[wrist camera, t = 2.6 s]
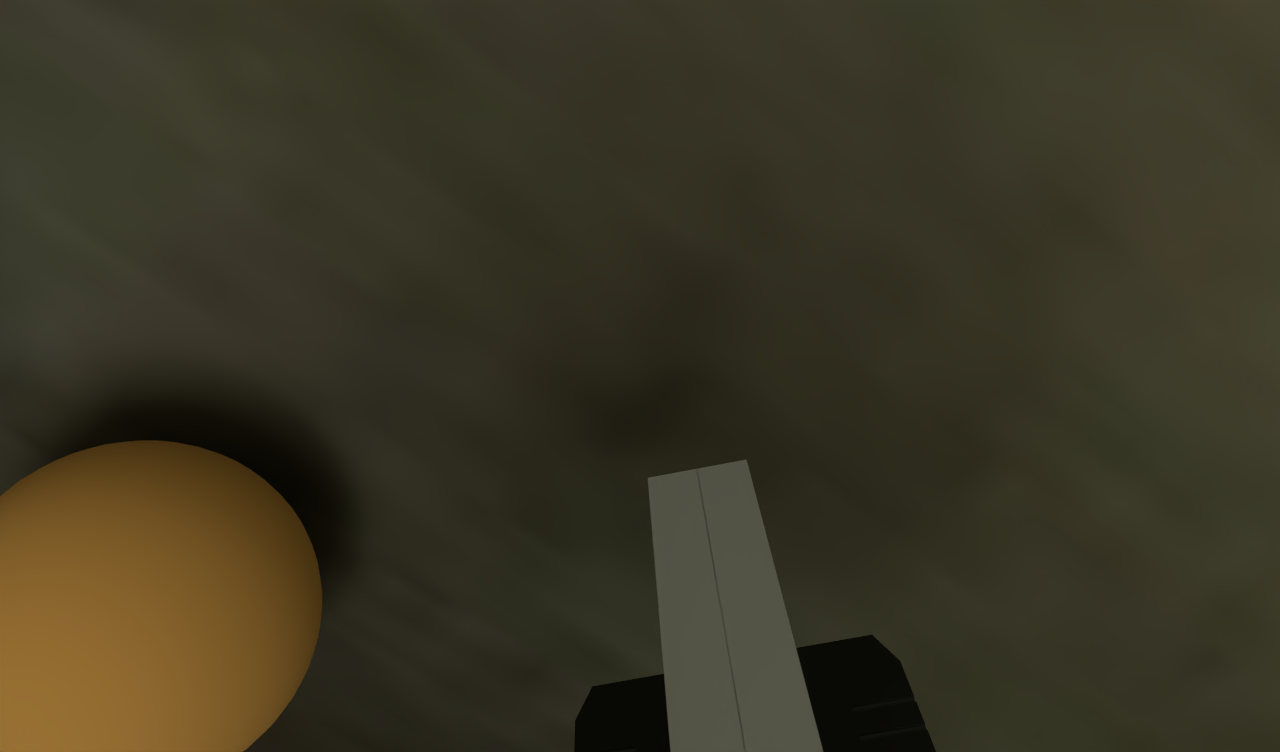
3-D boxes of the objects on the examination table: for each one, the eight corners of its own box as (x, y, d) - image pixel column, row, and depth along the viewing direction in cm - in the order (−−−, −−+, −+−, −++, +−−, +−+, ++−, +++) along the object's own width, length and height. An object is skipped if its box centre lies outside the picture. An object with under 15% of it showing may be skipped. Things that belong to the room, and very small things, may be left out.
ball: (392, 608, 21) (318, 849, 16) (123, 657, 21) (-41, 909, 16) (297, 356, 19) (170, 538, 13) (-6, 415, 19) (-252, 617, 13)
